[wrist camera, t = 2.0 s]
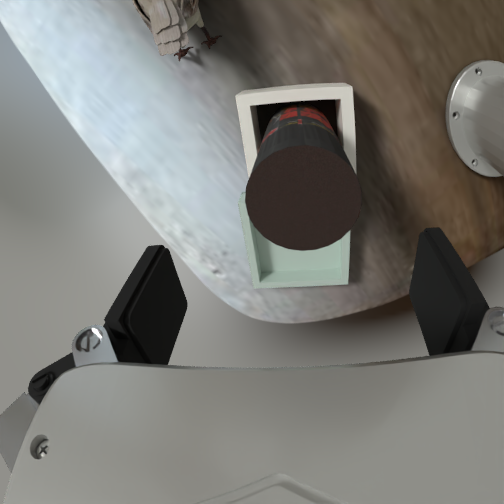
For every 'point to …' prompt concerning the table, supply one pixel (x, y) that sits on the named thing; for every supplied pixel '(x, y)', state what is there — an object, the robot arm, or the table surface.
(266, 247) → the tray
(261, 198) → the deodorant
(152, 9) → the decorative bird
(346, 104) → the holder
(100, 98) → the table surface
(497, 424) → the robot arm
